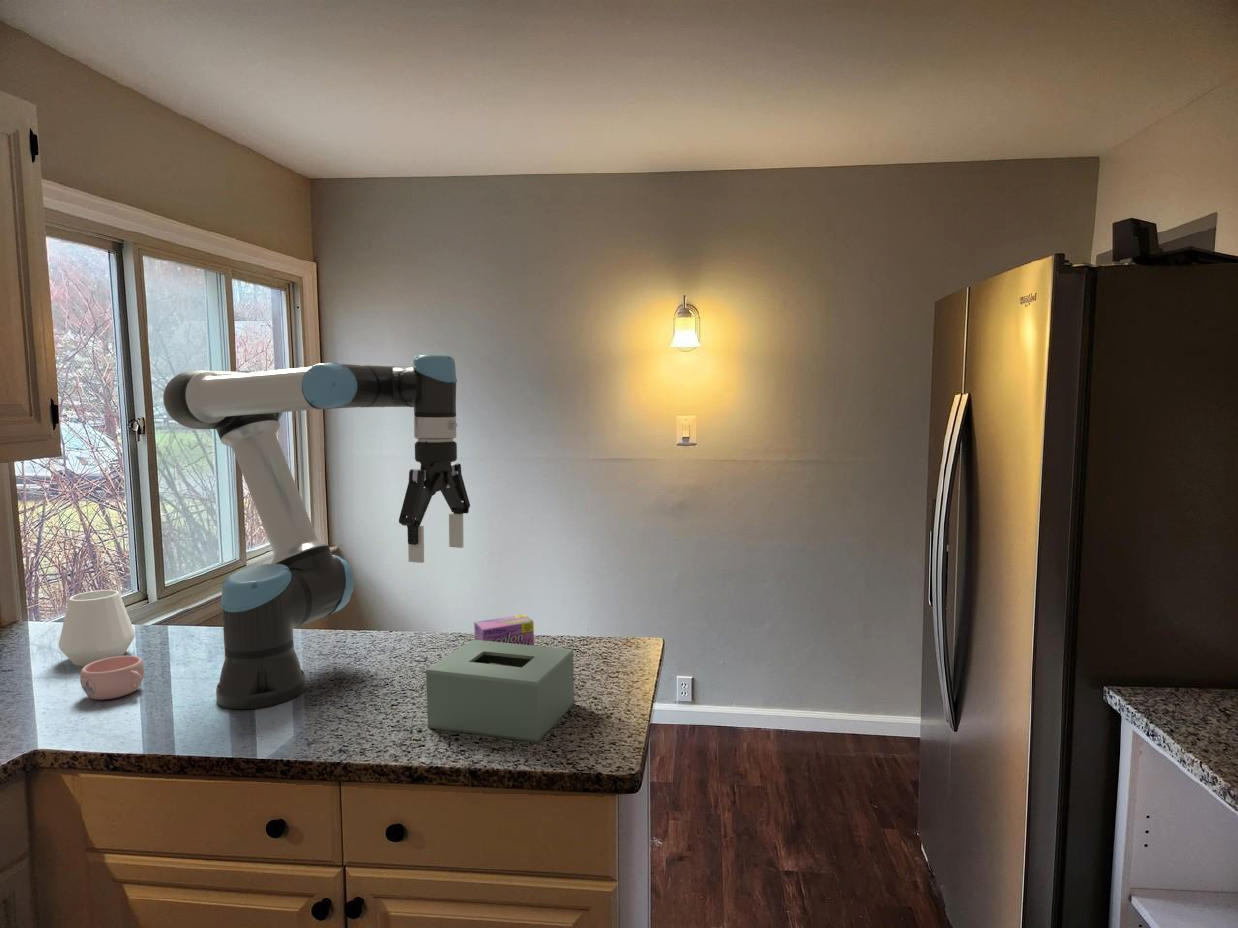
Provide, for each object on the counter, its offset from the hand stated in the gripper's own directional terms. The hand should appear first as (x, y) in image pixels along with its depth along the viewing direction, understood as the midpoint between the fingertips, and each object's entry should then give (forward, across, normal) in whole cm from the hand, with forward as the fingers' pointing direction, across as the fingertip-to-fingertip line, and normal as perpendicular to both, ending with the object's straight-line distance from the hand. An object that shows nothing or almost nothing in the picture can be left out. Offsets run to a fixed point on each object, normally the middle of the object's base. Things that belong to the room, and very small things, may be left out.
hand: (437, 554), depth 139 cm
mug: (+28, -20, +57) cm, 66 cm away
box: (+26, +8, -10) cm, 29 cm away
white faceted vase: (+28, -6, +80) cm, 85 cm away
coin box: (+26, -7, -17) cm, 32 cm away
